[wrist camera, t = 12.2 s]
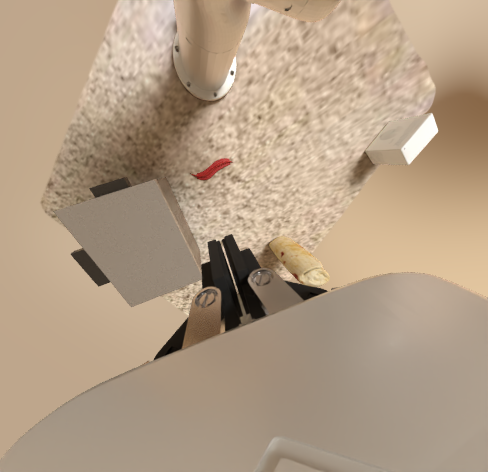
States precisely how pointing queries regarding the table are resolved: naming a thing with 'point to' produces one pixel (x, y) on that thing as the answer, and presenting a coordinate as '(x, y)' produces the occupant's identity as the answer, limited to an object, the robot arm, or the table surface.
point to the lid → (131, 242)
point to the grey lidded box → (170, 199)
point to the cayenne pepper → (213, 169)
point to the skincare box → (402, 140)
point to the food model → (299, 262)
